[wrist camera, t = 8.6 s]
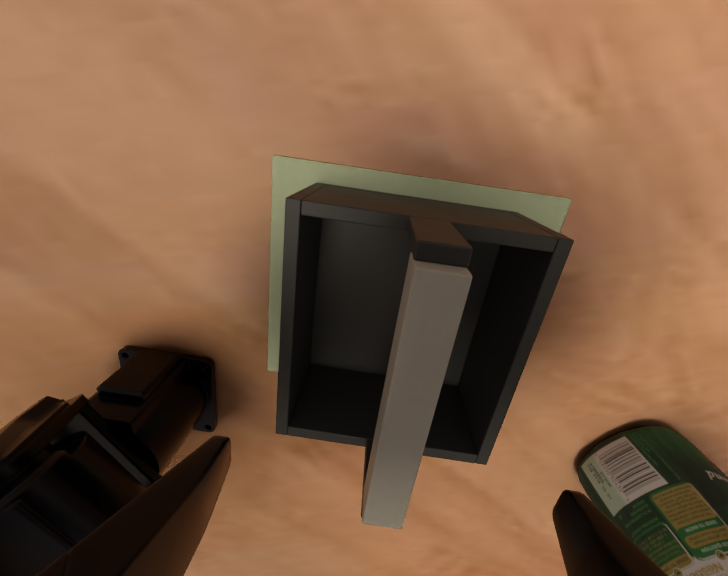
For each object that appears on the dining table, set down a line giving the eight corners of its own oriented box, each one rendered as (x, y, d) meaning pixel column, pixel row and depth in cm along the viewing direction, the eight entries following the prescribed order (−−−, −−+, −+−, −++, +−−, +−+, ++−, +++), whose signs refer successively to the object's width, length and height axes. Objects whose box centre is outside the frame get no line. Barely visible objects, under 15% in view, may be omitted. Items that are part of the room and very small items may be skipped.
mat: (494, 401, 23) (496, 404, 23) (268, 368, 23) (267, 370, 23) (569, 198, 18) (572, 199, 18) (274, 154, 18) (272, 155, 18)
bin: (462, 388, 23) (515, 557, 13) (302, 364, 23) (243, 516, 13) (517, 212, 18) (659, 281, 9) (315, 182, 18) (240, 219, 9)
